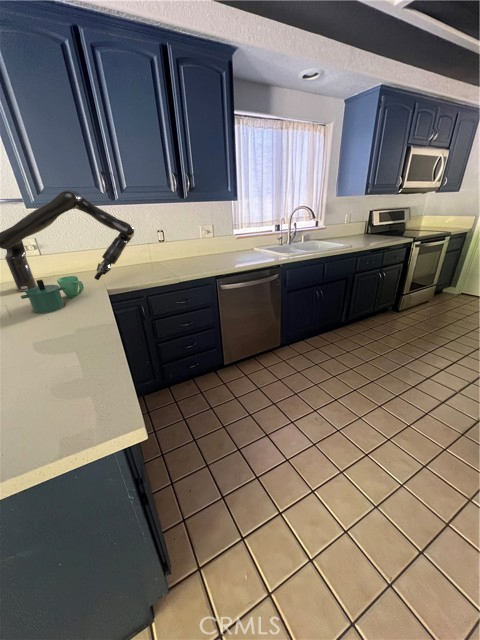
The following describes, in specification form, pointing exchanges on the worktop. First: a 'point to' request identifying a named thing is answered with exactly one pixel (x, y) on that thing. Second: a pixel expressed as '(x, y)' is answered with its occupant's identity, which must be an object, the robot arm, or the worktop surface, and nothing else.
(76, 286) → the mug
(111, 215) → the robot arm
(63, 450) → the worktop surface
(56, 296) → the pot
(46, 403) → the worktop surface
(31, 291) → the pot lid
